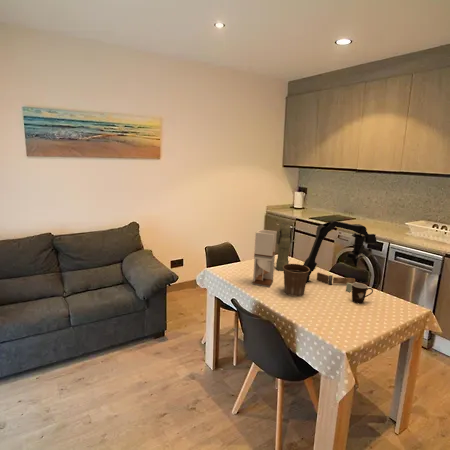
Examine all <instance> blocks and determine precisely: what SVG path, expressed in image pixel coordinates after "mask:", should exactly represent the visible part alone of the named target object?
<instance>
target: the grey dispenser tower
mask: <svg viewBox="0 0 450 450" xmlns="http://www.w3.org/2000/svg"><path fill="white" fill-rule="evenodd" d="M277 231H278V230H268V229H258V230H257V231H256V232H255V234H254V235H255V236H254V237H255V239H254V251H253V253H254V254H253V260H254V261H253V263H254V264H253V274H252V275H253V278H252V286H257V287H263V288H271V286H272V285H273V283H274V273H275V270H274V269H275V260H276V259H275V257H276V244H277Z"/></svg>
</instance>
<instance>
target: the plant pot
mask: <svg viewBox="0 0 450 450" xmlns="http://www.w3.org/2000/svg"><path fill="white" fill-rule="evenodd" d="M283 269H284V271H283V275H284V276H283V282H284V283H283V284H284V285H283V286H284V287H283V289H284V293H286V295H288V296H292V297H299V296H304V295H305V292H306V291H305V290H306V284H307V283H306V280H307V277H308V273H309V271H310V269H309V268H308V267H306V266H304V264H298V263H289V264H286V265H284V266H283Z"/></svg>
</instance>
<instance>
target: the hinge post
mask: <svg viewBox="0 0 450 450" xmlns="http://www.w3.org/2000/svg"><path fill="white" fill-rule="evenodd" d="M316 274H317V275H316V281H318V282H320V283H323V284H326V285H328V286H332V285H333V277H334V276H333V274H332V275H331V274H329V275H328V274H325V273H321V272H317V273H316Z"/></svg>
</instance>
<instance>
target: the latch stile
mask: <svg viewBox="0 0 450 450" xmlns="http://www.w3.org/2000/svg"><path fill="white" fill-rule="evenodd" d="M345 285H346V287H345V292H347V293H350V292H351V293H352V284H351V283H347V284H345Z"/></svg>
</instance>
